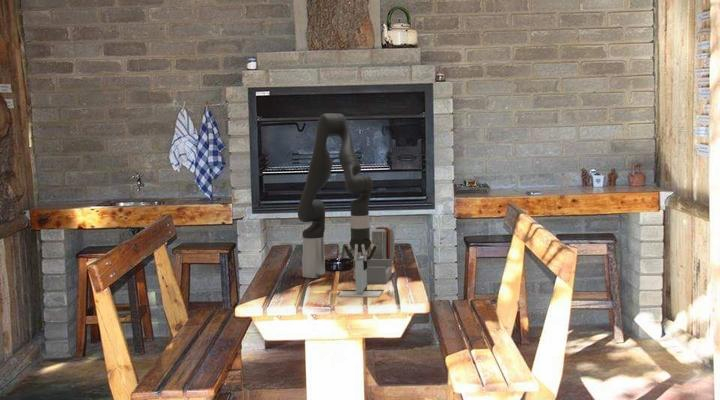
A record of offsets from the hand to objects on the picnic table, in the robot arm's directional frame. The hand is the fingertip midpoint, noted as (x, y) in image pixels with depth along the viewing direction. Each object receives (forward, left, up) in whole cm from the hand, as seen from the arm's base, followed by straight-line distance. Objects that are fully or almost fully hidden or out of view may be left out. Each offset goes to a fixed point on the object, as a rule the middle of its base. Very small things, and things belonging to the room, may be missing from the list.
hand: (361, 269), depth 353 cm
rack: (+2, +21, -9) cm, 23 cm away
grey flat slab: (0, 0, -8) cm, 8 cm away
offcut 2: (-2, +21, -8) cm, 22 cm away
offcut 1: (-2, +21, -6) cm, 22 cm away
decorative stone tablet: (+2, +50, -10) cm, 51 cm away
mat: (0, 0, -9) cm, 9 cm away
